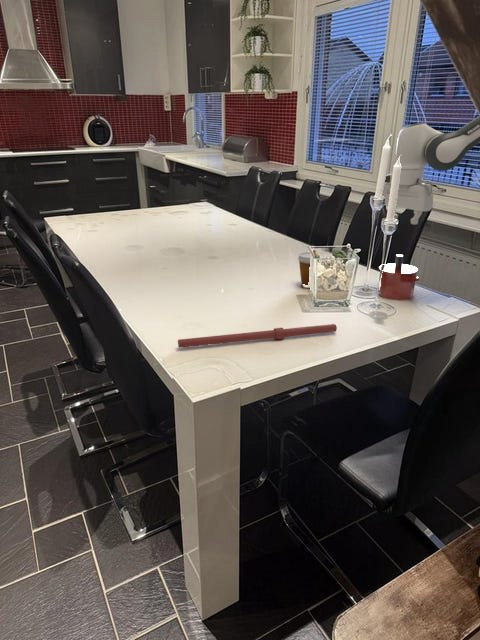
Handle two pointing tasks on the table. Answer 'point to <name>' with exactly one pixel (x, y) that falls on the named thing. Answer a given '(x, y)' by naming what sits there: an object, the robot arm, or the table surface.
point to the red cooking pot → (397, 286)
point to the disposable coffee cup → (304, 267)
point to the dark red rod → (257, 335)
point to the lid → (399, 267)
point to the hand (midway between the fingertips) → (403, 222)
